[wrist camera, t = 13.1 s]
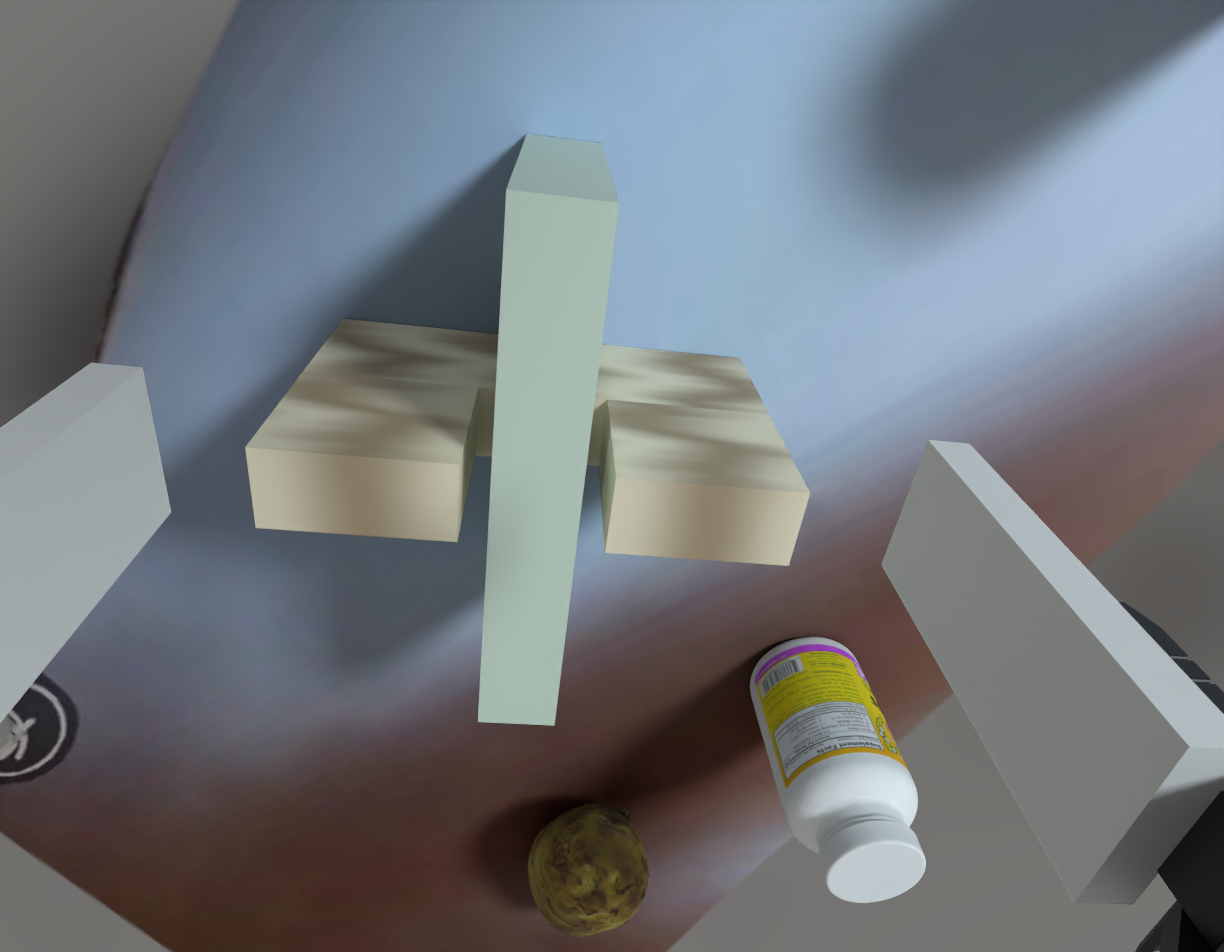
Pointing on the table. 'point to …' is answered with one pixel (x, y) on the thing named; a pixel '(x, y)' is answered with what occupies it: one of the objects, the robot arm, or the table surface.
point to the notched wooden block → (463, 428)
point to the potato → (588, 870)
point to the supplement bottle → (838, 769)
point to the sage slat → (543, 415)
